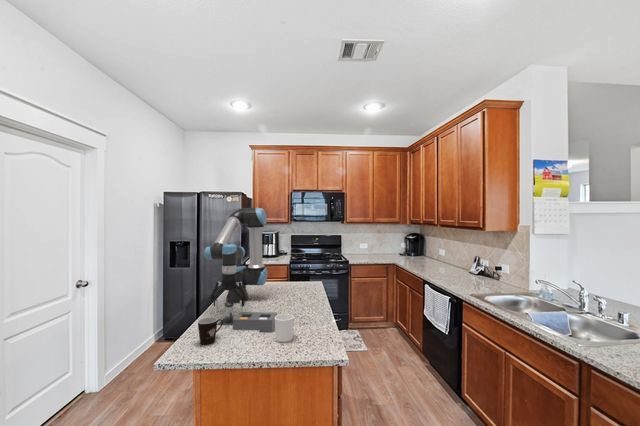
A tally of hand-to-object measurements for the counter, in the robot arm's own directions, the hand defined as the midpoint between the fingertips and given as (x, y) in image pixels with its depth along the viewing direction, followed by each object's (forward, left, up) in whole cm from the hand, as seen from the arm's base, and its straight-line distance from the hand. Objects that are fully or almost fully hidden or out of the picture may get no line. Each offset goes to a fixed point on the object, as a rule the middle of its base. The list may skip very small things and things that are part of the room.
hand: (228, 312), depth 157 cm
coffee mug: (+23, 0, -6) cm, 24 cm away
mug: (+18, +34, -6) cm, 39 cm away
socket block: (+5, +16, -6) cm, 18 cm away
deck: (0, 0, -6) cm, 6 cm away
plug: (0, 0, -5) cm, 5 cm away
